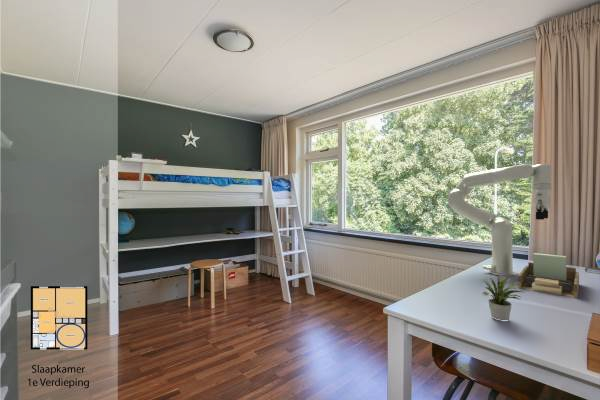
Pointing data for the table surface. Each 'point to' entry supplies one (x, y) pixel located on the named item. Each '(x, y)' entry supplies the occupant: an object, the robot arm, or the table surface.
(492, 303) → the house plant
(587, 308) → the table surface
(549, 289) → the offcut lower
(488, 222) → the robot arm
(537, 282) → the offcut upper
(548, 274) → the green panel
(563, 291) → the rack
